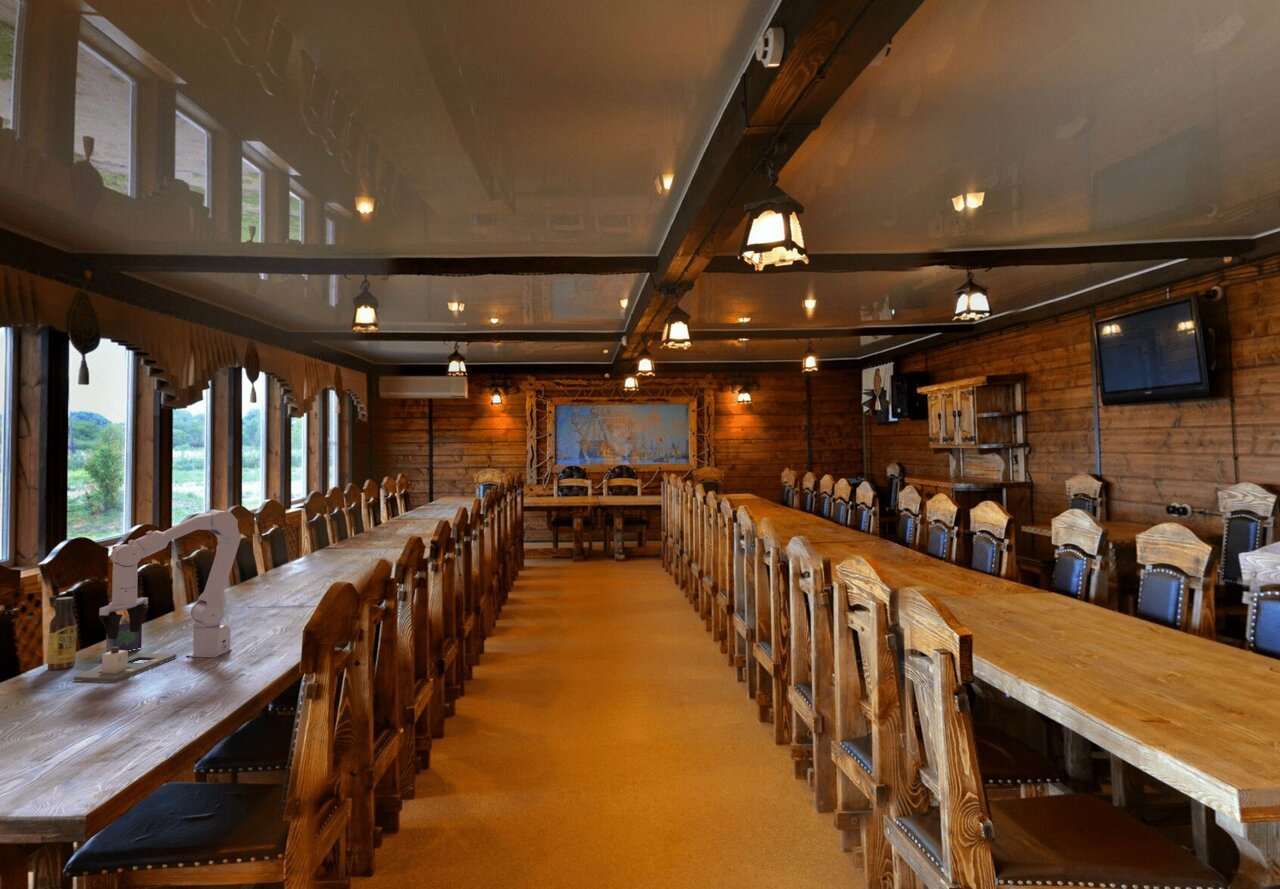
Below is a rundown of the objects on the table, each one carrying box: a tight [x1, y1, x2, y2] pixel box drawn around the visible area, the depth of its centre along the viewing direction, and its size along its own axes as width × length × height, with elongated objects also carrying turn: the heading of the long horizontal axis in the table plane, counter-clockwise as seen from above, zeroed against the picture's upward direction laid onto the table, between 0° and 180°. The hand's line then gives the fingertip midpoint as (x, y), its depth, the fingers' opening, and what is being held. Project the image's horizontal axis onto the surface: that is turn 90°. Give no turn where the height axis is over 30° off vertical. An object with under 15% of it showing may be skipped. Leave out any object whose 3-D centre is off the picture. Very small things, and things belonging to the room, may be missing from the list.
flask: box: [105, 616, 143, 653], centre depth 213 cm, size 9×3×11 cm, turn 146°
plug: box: [101, 646, 129, 673], centre depth 192 cm, size 5×4×7 cm
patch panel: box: [73, 652, 177, 683], centre depth 196 cm, size 12×22×1 cm, turn 176°
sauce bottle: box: [47, 596, 78, 671], centre depth 198 cm, size 7×6×20 cm
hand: (123, 635), depth 195 cm, fingers open, 7 cm apart
